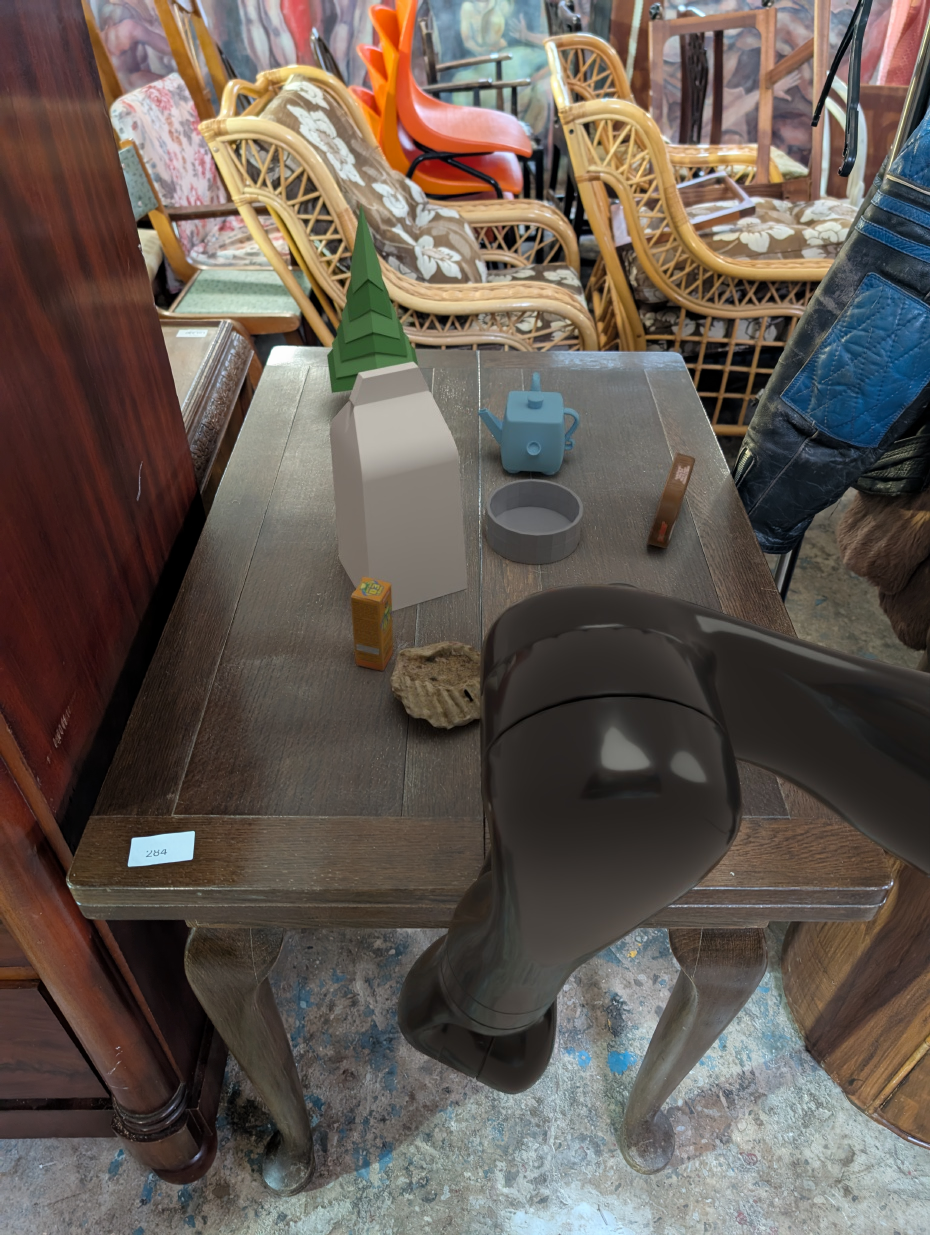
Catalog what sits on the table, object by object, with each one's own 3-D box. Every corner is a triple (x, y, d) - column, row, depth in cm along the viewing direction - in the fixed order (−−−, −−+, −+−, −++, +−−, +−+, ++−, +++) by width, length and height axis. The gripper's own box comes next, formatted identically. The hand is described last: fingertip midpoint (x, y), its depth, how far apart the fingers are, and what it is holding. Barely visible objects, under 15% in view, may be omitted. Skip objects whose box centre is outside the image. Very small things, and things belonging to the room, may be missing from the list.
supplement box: (385, 673, 84) (379, 602, 77) (355, 666, 84) (346, 595, 78) (396, 651, 86) (391, 581, 79) (367, 645, 87) (359, 574, 80)
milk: (372, 617, 90) (350, 408, 72) (339, 559, 98) (312, 357, 80) (467, 588, 94) (468, 382, 76) (429, 535, 101) (422, 336, 84)
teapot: (576, 497, 108) (584, 431, 101) (473, 492, 108) (474, 426, 101) (573, 430, 121) (580, 367, 114) (481, 426, 122) (482, 364, 115)
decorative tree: (351, 383, 132) (330, 184, 111) (439, 399, 128) (434, 195, 108) (312, 422, 122) (283, 211, 102) (406, 439, 119) (395, 225, 98)
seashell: (490, 752, 80) (509, 659, 83) (493, 735, 73) (514, 636, 77) (381, 728, 80) (405, 638, 84) (375, 710, 74) (401, 613, 78)
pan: (597, 548, 99) (602, 519, 96) (513, 575, 96) (515, 545, 92) (549, 499, 107) (551, 470, 104) (469, 521, 103) (469, 492, 100)
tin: (664, 493, 108) (676, 438, 103) (687, 498, 108) (700, 443, 102) (642, 557, 98) (653, 500, 92) (667, 563, 97) (680, 506, 92)
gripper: (639, 815, 59) (682, 660, 71) (474, 762, 63) (541, 622, 75) (625, 867, 65) (667, 713, 76) (473, 814, 68) (536, 676, 80)
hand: (605, 668), depth 75 cm, fingers closed
